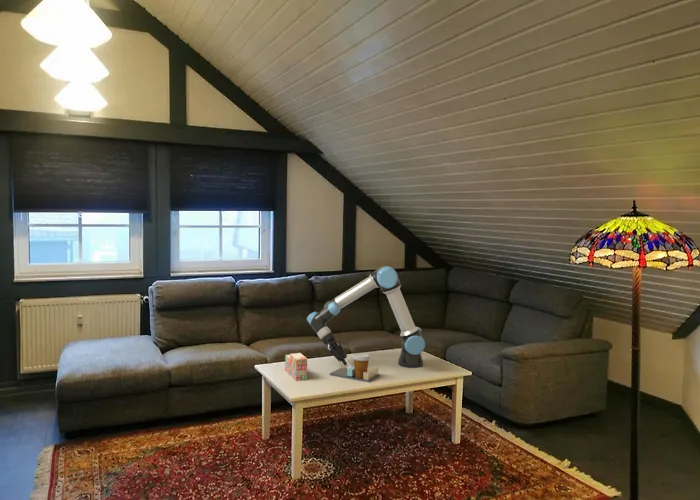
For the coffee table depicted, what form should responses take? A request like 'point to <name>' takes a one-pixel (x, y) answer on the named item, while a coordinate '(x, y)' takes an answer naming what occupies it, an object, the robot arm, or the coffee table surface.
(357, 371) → the disposable coffee cup
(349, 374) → the bar
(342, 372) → the base
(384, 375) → the coffee table surface
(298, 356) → the stack of blocks
